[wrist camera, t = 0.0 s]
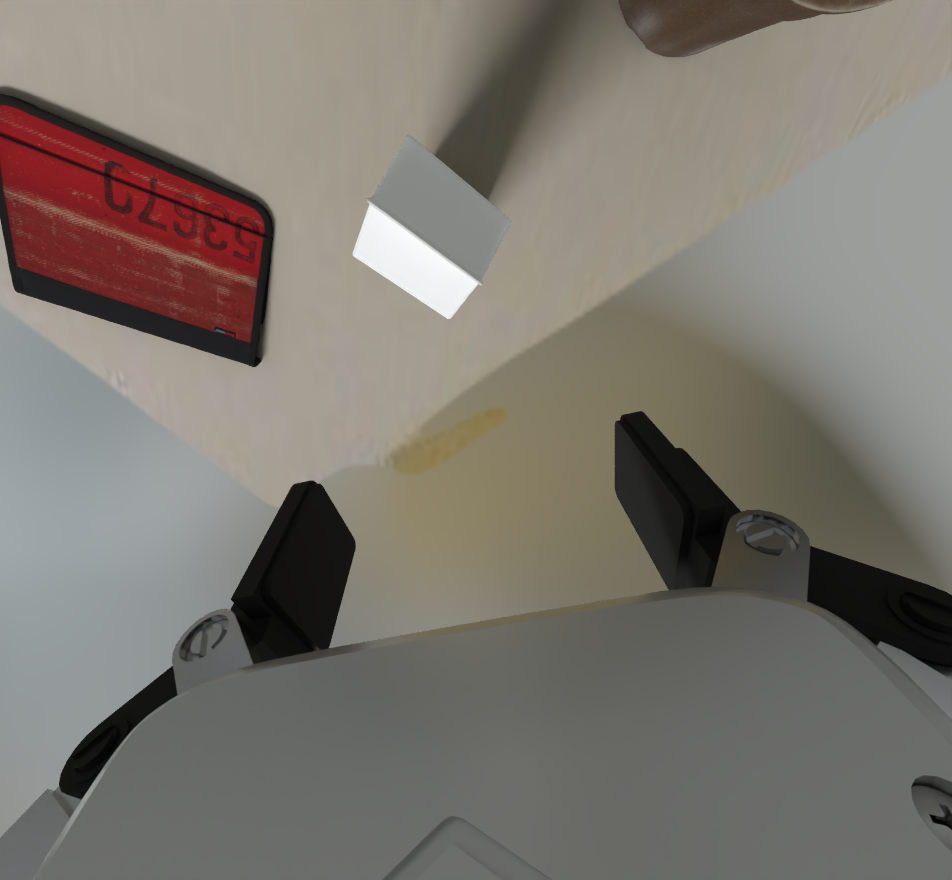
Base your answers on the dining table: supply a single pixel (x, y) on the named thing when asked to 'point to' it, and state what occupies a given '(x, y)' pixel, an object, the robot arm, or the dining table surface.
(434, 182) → the milk
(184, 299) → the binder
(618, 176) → the dining table surface
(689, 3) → the plant pot
